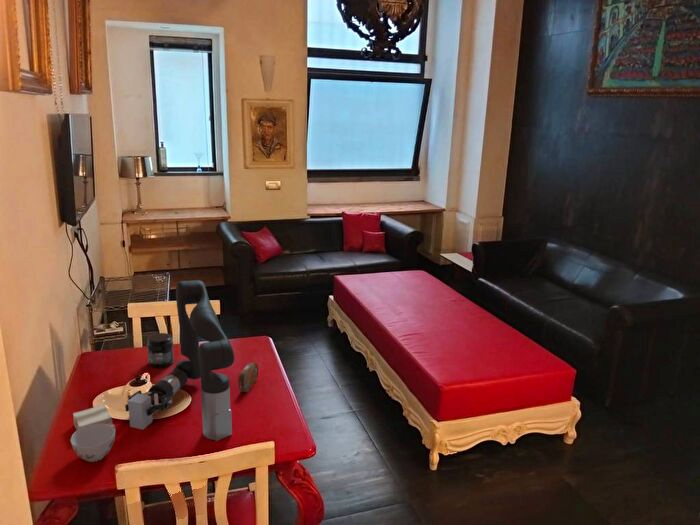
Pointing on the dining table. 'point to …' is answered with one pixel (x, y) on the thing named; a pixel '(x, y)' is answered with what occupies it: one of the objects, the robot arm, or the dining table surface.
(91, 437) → the teacup
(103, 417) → the birch block
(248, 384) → the tin
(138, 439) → the dining table surface
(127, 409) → the robot arm
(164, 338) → the supplement container
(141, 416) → the pale blue tall cuboid
